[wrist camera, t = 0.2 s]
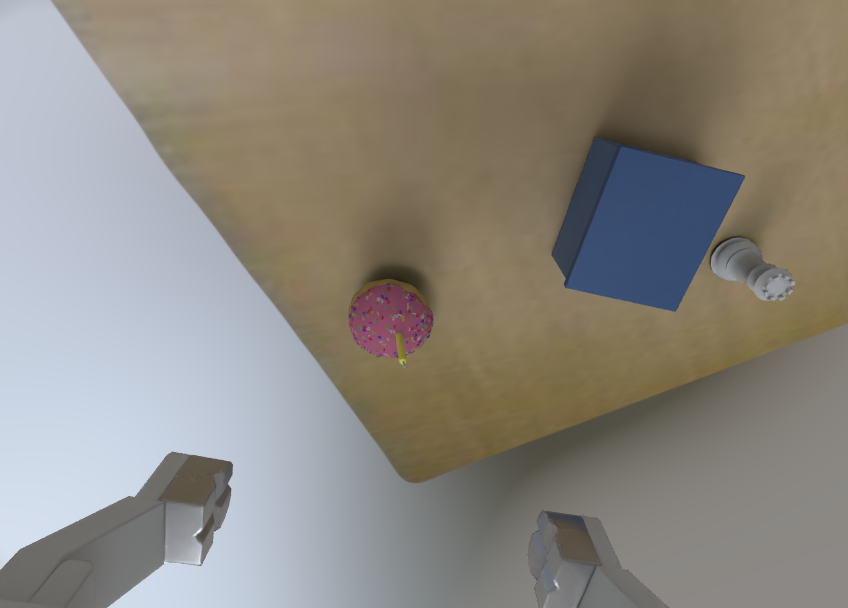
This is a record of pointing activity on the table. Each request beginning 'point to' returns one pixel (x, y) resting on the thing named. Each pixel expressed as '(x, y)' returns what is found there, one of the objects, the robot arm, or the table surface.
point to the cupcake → (390, 319)
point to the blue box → (641, 223)
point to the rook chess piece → (751, 269)
